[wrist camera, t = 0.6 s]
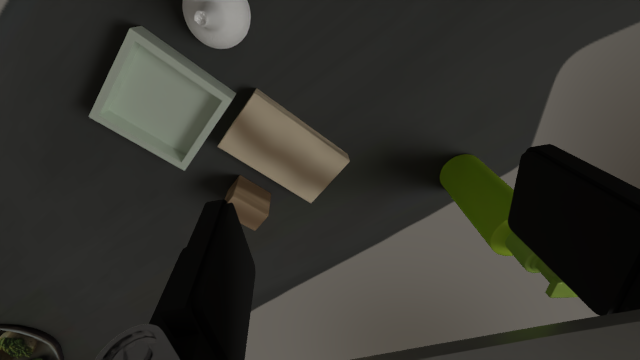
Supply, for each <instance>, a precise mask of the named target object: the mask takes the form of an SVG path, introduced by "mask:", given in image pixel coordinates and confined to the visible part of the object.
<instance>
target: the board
mask: <svg viewBox="0 0 640 360" xmlns="http://www.w3.org/2000/svg"><path fill="white" fill-rule="evenodd" d="M218 147H219V148H221V149H223V150H224V151H226V152H227V153H229V154H231V155H232V156H234V157H236V158H237V159H239V160H241V161H242V162H244V163H246V164H247V165H249V166H250V167H252V168H254V169H255V170H257V171H259V172H260V173H262V174H264V175H265V176H267V177H269V178H270V179H272V180H273V181H275V182H277V183H278V184H280V185H282V186H283V187H285V188H287V189H288V190H290V191H292V192H293V193H295V194H296V195H298V196H300V197H301V198H303V199H305V200H306V201H308V202H310V203H312V202H313V201H314V200H315V198H316V197H317V196H318V195H319V194H320V193H321V192H322V191H323V190H324V189H325V188H326V187H327V186H328V184H329V183H330V182H331V181H332V180H333V179H334V178H335V177H336V176H337V175H338V174H339V173H340V171H341V170H342V169H343V168H344V167H345V166H346V165H347V164H348V163H349V162H350V160H349V157H348V154H347V153H345V152H344V151H343V150H341V149H340V148H338V147H337V146H336V145H334V144H333V143H332V142H330V141H329V140H327V139H326V138H325V137H323V136H322V135H321V134H319V133H318V132H316V131H315V130H314V129H312V128H311V127H309V126H308V125H307V124H305V123H304V122H303V121H301V120H300V119H298V118H297V117H296V116H294V115H293V114H292V113H290V112H289V111H287V110H286V109H285V108H283V107H282V106H280V105H279V104H278V103H276V102H275V101H274V100H272V99H271V98H269V97H268V96H267V95H265V94H264V93H263V92H261V91H260V90H258V89H257V88H256V90H255V91H254V93H253V94H252V96H251V97H250V99H249V100H248V101H247V103H246V104H245V106H244V107H243V109H242V110H241V112H240V113H239V115H238V116H237V118H236V119H235V121H234V122H233V123H232V125H231V126H230V128H229V129H228V131H227V132H226V134H225V135H224V137H223V138H222V140H221V141H220V143H219V145H218Z"/></svg>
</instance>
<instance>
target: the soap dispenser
mask: <svg viewBox="0 0 640 360" xmlns="http://www.w3.org/2000/svg"><path fill="white" fill-rule="evenodd" d="M440 182H441V184H442V186H443V187H444V188H445V189H446V191H447V192H448V193H449V195H450V196H451V197H452V198H453V200H454V201H455V202H456V203H457V205H458V206H459V207H460V209H461V210H462V211H463V213H464V214H465V215H466V216H467V218H468V219H469V220H470V221H471V223H472V224H473V225H474V227H475V228H476V229H477V230H478V232H479V233H480V234H481V236H482V237H483V238H484V239H485V240H486V242H487V243H488V245H489V246H490V247H491V248H492V250H493V251H494V252H496V253H497V254H500V255H504V256H513V255H514V257H515V258H516V259H517V260H518V261H519V262H520V264H521V265H522V266H523V267H524V268H525V269H526V270H527V271H528V272H532V273H539V272H541V274H542V275H543V276H544V277H545V278H546V279H547V280H548V281H549V282H550V284H549V286H548V288H547V290H546V294H547V295H548V296H549V297H550V298H568V297H578V296H577V295H576V294H575V293H574V292H573V291H572V290H571V289H570V288H569V287H568V286H567V285H566V284H565V283H564V282H563V281H562V280H561V279H560V278H559V277H558V276H557V275H556V274H555V273H554V272H553V271H552V270H551V269H550V268H549V267H548V266H547V265H546V264H545V263H544V262H543V261H542V260H541V259H540V258H539V257H538V256H537V255H536V254H535V253H534V252H533V251H532V250H531V249H530V248H529V247H528V246H527V245H525V244H524V243H523V242H522V241H521V240H520V239H519V238H518V237H517V236H516V235H515V234H514V233H513V232H512V231H511V229H510V228H509V225H508V216H509V211H510V207H511V202H512V197H513V192H514V190H513V189H512V188H511V187H510V186H509V185H507V184H506V183H505V182H504V181H503V180H502V179H501V178H499V177H498V176H497V175H496V174H495V173H494V172H493V171H492V170H490V169H489V168H488V167H487V166H486V165H485V164H484V163H482V162H481V161H480V160H479V159H478V158H477V157H475V156H473V155H469V154H463V155H459V156H456V157H454V158H452V159H451V160H449V161H448V162H447V163H446V164H445V165H444V166H443V168H442V170H441V172H440Z"/></svg>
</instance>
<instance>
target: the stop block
mask: <svg viewBox="0 0 640 360" xmlns="http://www.w3.org/2000/svg"><path fill="white" fill-rule="evenodd" d="M270 198H271V193H269V192H267V191H266V190H264V189H262V188H261V187H259V186H257V185H256V184H254V183H252V182H251V181H249V180H247V179H246V178H244V177H242V176H241V175H239V177H238V178H237V179H236V181H235V182H234V183H233V184H232V186H231V187H230V188H229V190H228V192H227V195H226V197H225V200H226V201H227V203H233V204H234V207H235V209H236V212H237V215H238V218H239V221H240V223H241V224H243V225H245V226H247V227H249V228H251V229H253V230H256V229H257V228H258V227H259V226H260V225H261V223H262V222H263V221H264V220H265V219H266V218H267V217H268V214H269V206H270Z"/></svg>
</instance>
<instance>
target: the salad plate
mask: <svg viewBox="0 0 640 360" xmlns="http://www.w3.org/2000/svg"><path fill="white" fill-rule="evenodd" d="M0 330H5V331H6V332H5V333H3V334H2V335H1V337H0V360H64V356H63V353H62V349H61V346H60V344H59V343H58V341H57V340H56V339H55V338H53V337H52V336H51V335H49V334H47V333H45V332H43V331H40V330H37V329H34V328H29V327H24V326H9V325H0Z"/></svg>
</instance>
